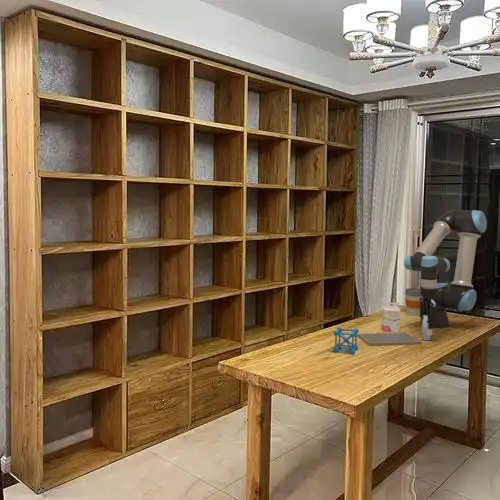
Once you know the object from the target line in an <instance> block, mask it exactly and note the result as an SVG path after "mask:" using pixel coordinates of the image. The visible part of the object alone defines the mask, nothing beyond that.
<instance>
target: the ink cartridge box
mask: <svg viewBox="0 0 500 500" xmlns="http://www.w3.org/2000/svg"><path fill="white" fill-rule="evenodd" d="M399 305H400V303H399V302H383V307H382V320H381V321H382V322H381V323H382V324H381V329H382V331H383V332H390V333H400V327H401V326H400V325H401V309H400V308H399V307H400V306H399Z"/></svg>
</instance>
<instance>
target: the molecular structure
mask: <svg viewBox="0 0 500 500" xmlns="http://www.w3.org/2000/svg"><path fill="white" fill-rule="evenodd" d="M343 331H345V332H343ZM347 332H348V333H347ZM349 332H350V333H349ZM359 332H360V331H359V328H357V327H356V328H353V329H348V328H343V327H342V326H338V327H337V330H336V329H335V330H334V331H333V335H334V339H335V340H334V347H333V349H332V351H333V352H335V353H337V352H339V351H340V352H346V353H347V352H348V353H350V354H352V355H354V354H355V353H356V350H358V349H359V345H358V342H357V341H358V340H357V339H358V338H357V334H359ZM346 336H348V337H346ZM351 338H352V339H351ZM341 339H342V340H343V341H341ZM350 339H351V341H350ZM345 344H347V345H345ZM342 347H344V348H349V349H350V350H349V349H341V348H342Z"/></svg>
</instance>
